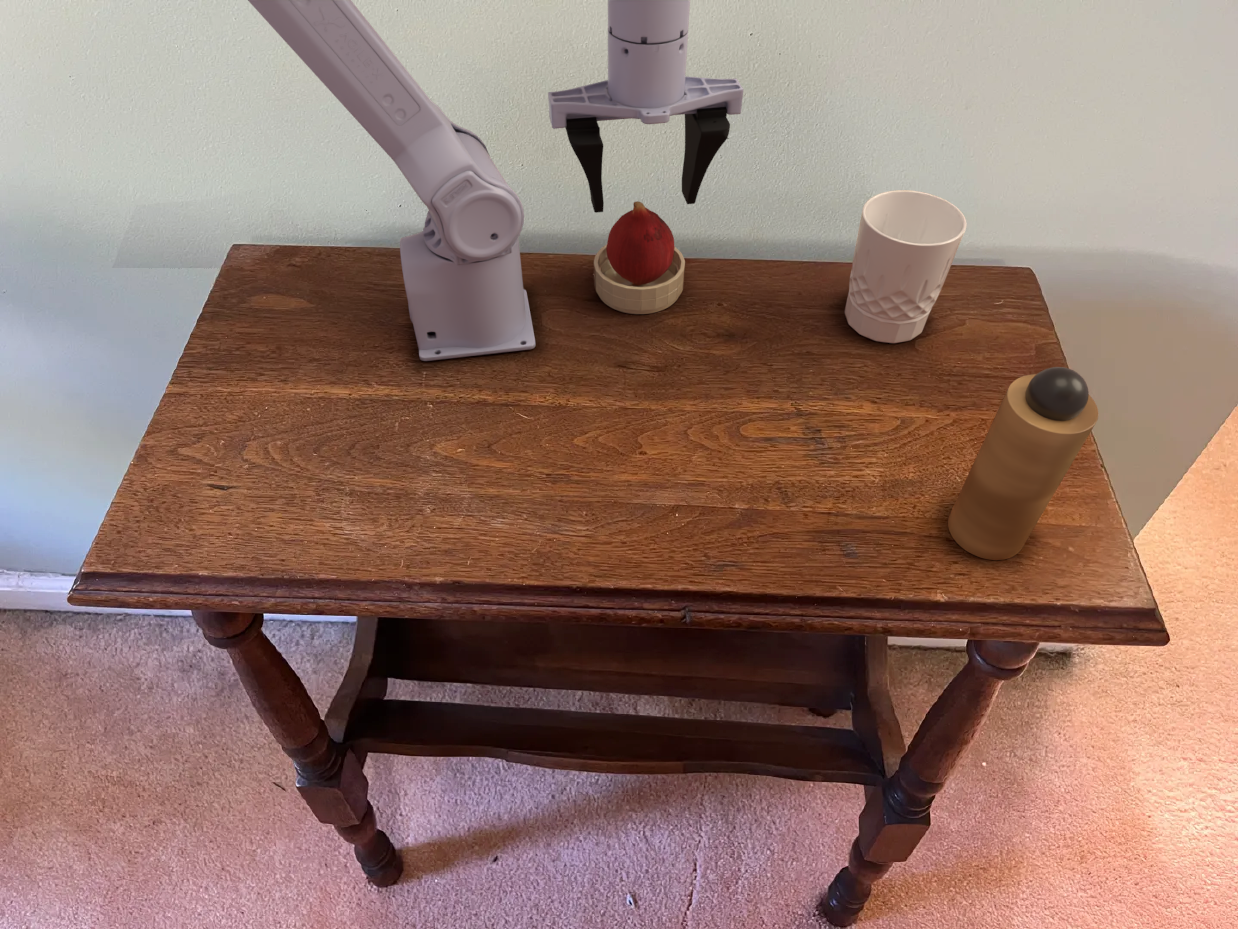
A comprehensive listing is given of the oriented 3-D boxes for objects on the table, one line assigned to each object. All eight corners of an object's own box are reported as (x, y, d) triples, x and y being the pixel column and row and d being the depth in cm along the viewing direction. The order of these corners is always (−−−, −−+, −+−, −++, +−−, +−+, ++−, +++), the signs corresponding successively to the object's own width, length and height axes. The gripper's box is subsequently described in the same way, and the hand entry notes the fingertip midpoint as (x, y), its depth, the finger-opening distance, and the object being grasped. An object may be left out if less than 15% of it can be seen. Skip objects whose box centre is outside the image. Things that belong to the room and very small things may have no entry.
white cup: (819, 306, 74) (841, 204, 67) (890, 282, 77) (919, 180, 69) (877, 359, 70) (908, 255, 62) (950, 331, 72) (988, 228, 65)
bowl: (602, 320, 73) (602, 293, 71) (588, 267, 78) (587, 240, 76) (691, 310, 74) (694, 283, 72) (672, 258, 79) (673, 232, 77)
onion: (673, 266, 78) (678, 186, 72) (670, 305, 74) (675, 223, 68) (610, 262, 78) (610, 182, 72) (603, 301, 74) (602, 219, 68)
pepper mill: (967, 565, 56) (1049, 410, 45) (935, 507, 59) (1004, 350, 49) (1037, 554, 56) (1134, 399, 46) (1002, 497, 60) (1084, 340, 49)
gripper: (552, 58, 56) (562, 236, 67) (763, 44, 58) (741, 219, 68) (540, 18, 61) (551, 190, 71) (735, 5, 63) (719, 175, 73)
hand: (643, 201), depth 70 cm, fingers open, 7 cm apart
